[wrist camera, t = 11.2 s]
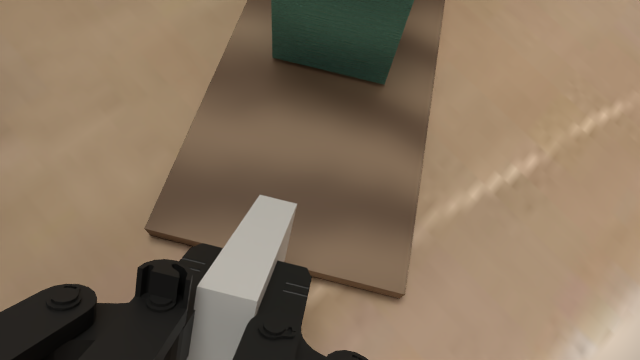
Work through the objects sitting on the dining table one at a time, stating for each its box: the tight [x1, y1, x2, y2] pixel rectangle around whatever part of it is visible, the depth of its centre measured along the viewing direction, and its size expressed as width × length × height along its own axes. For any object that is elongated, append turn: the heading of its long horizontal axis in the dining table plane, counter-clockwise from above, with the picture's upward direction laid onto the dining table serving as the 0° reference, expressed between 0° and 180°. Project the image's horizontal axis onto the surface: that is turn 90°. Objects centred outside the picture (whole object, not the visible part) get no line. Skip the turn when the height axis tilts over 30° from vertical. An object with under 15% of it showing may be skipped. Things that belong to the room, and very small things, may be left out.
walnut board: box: [145, 0, 445, 298], centre depth 28 cm, size 33×13×1 cm, turn 167°
